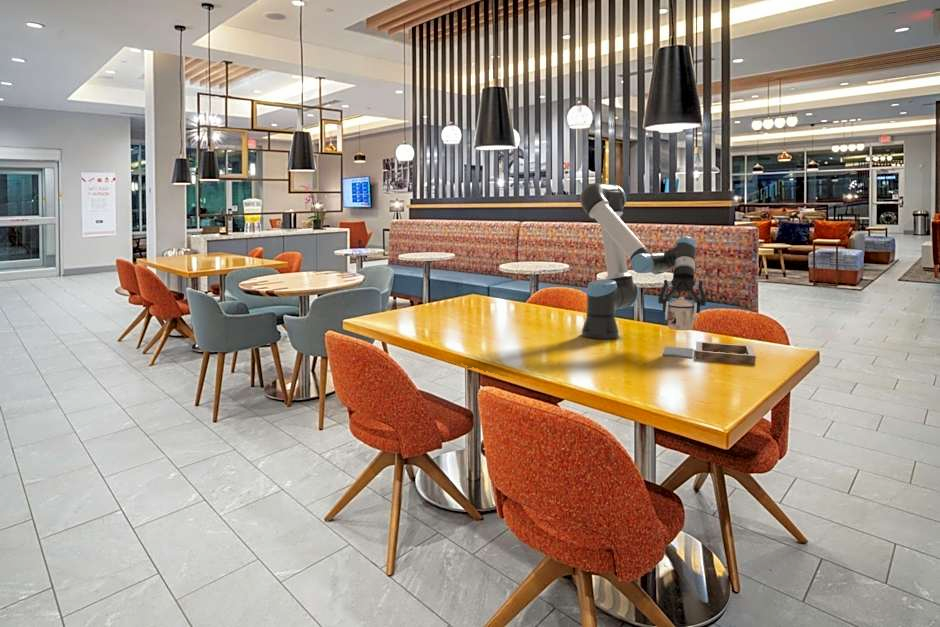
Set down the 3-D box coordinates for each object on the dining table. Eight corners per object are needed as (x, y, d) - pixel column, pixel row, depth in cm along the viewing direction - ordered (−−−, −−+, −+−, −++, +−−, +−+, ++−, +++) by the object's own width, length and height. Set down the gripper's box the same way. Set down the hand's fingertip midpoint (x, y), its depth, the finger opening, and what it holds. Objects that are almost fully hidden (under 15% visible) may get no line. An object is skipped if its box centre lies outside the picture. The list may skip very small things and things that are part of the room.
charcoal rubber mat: (662, 355, 211) (662, 354, 211) (665, 347, 225) (665, 346, 224) (692, 358, 207) (692, 357, 207) (693, 349, 221) (693, 348, 221)
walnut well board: (695, 359, 205) (695, 351, 205) (695, 349, 222) (696, 341, 221) (755, 364, 199) (755, 356, 198) (751, 353, 215) (751, 345, 215)
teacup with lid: (663, 326, 220) (665, 295, 218) (687, 326, 220) (689, 295, 218) (675, 332, 208) (676, 299, 206) (700, 332, 208) (702, 299, 206)
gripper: (654, 264, 224) (648, 310, 212) (715, 265, 216) (713, 313, 204) (654, 276, 230) (649, 322, 218) (714, 278, 222) (712, 326, 210)
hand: (680, 318), depth 211 cm, fingers closed on teacup with lid, 9 cm apart
